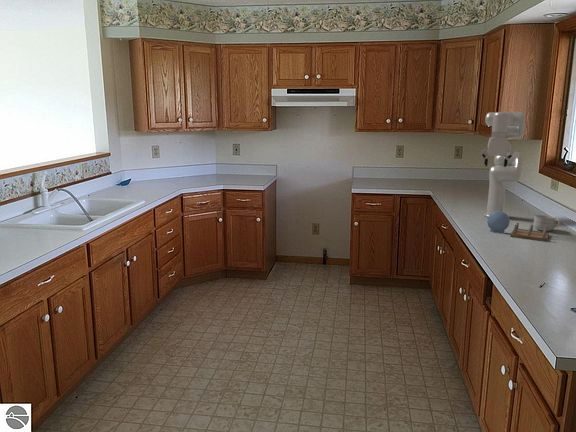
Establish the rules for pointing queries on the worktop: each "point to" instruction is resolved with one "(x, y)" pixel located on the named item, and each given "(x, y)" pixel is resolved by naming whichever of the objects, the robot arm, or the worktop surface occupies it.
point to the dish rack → (530, 233)
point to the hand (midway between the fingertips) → (495, 166)
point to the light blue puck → (498, 221)
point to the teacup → (545, 222)
